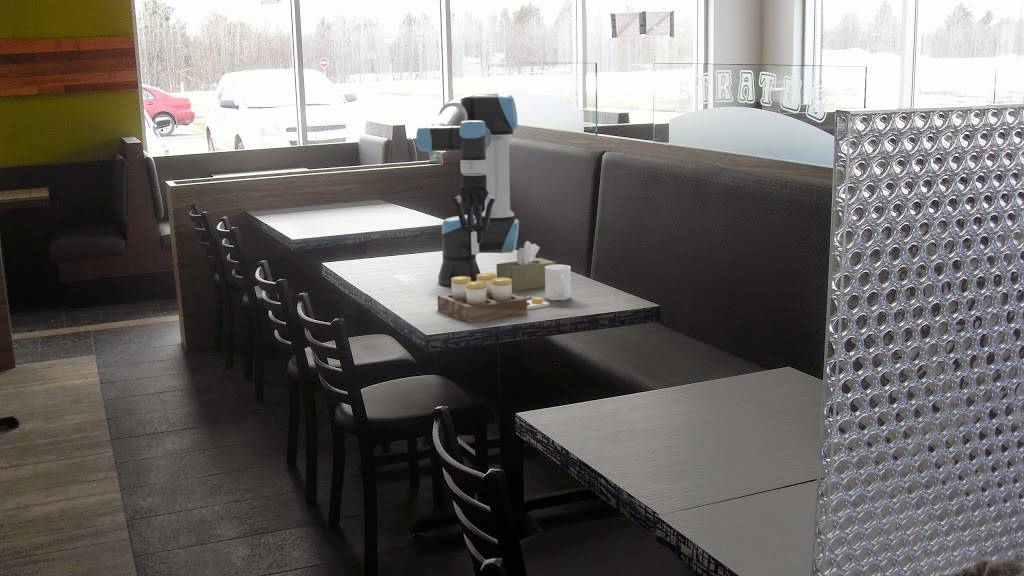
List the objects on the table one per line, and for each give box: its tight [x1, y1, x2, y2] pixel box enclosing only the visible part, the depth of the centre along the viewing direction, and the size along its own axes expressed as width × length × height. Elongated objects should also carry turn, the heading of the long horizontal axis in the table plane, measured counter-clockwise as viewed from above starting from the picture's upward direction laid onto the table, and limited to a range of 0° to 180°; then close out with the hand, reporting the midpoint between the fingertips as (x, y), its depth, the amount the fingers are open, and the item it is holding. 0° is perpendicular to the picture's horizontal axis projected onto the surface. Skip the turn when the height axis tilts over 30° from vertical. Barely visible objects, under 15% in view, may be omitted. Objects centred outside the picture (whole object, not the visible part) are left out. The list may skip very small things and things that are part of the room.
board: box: [437, 293, 528, 324], centre depth 302 cm, size 20×20×5 cm
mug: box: [544, 264, 572, 301], centre depth 316 cm, size 12×8×10 cm
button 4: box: [492, 277, 513, 301], centre depth 299 cm, size 6×6×6 cm
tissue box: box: [495, 240, 557, 292], centre depth 337 cm, size 19×10×16 cm, turn 124°
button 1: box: [451, 276, 471, 300], centre depth 302 cm, size 6×6×6 cm
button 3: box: [477, 272, 497, 296], centre depth 307 cm, size 6×6×6 cm
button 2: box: [466, 281, 487, 305], centre depth 294 cm, size 6×6×6 cm
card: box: [522, 295, 550, 311], centre depth 310 cm, size 12×10×2 cm
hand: (475, 253), depth 292 cm, fingers closed
